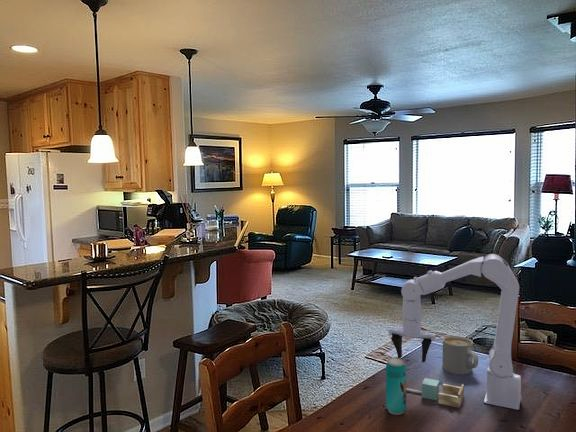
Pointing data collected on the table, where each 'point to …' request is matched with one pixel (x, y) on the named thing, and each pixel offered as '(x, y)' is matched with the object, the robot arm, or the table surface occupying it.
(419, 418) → the table surface
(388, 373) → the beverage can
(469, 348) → the coffee mug
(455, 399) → the wooden bracket
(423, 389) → the tethered block
